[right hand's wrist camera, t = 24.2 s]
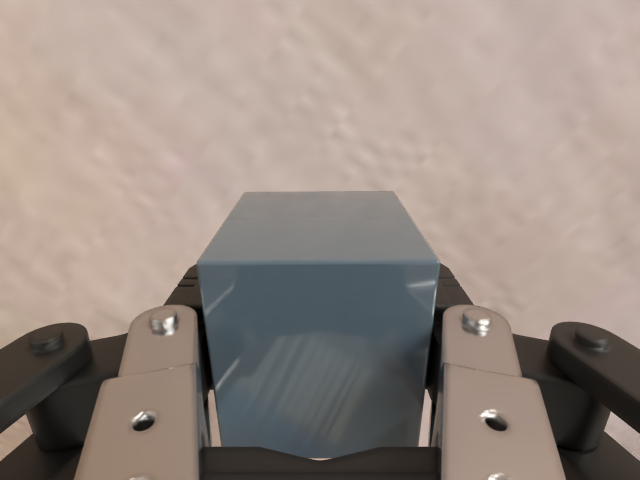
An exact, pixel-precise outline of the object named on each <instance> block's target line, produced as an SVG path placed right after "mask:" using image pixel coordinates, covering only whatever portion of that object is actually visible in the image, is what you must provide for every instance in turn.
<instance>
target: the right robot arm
mask: <svg viewBox="0 0 640 480" xmlns="http://www.w3.org/2000/svg"><path fill="white" fill-rule="evenodd" d="M425 389H427V390H428V392H429V395H430V398H431V400H432V401H431V408H430V420H429V436H428V447H378V448H373V449H369V450H365V451H361V452H357V453H353V454H348V455H344V456H340V457H336V458H332V459H328V460H312V459H308V458H304V457H300V456H296V455H292V454H287V453H283V452H279V451H275V450H271V449H267V448H262V447H212V436H211V420H210V408H209V401H208V393H209V390H214V389H213V382H212V374H211V367H210V360H209V352H208V345H207V338H206V330H205V323H204V316H203V309H202V301H201V294H200V287H199V279H198V272H197V265H194V266H192V267H191V268H189V269H188V271H187V272H186V274H185V275H184V277H183V279H181V281H180V282H179V284H178V287H176V288H175V289H174V291H173V292H172V294H171V295H170V297H169V298H168V299H167V301H166V302H165V304H164V305H163V306H160V307H156V308H153V309H150V310H148V311H146V312H144V313H142V314H140V315H139V316H137V317H136V318H135V319H134V320H133V321H132V323H131V325H130V328H129V332H128V333H126V334H123V335H118V336H113V337H108V338H103V339H97V340H92V341H90V340H89V336H88V332H87V329H86V328H85V327H84V326H82V325H80V324H77V323H59V324H53V325H49V326H45V327H42V328H39V329H36V330H34V331H32V332H29V333H27V334H25V335H24V336H22V337H20V338H19V339H17V340H15V341H14V342H12V343H10V344H9V345H7V346H5V347H4V348H2V349H0V433H2V432H3V431H4V430H6V429H7V428H8V427H9V426H11V425H12V424H13V423H14V422H16V421H17V420H18V419H19V418H21V417H22V416H23V415H25V414H26V415H27V418H28V421H29V424H30V426H31V429H32V432H33V434H32V435H31V436H30V437H28V438H27V439H26V440H25V441H24V442H23V443H21V444H20V445H19V446H18V447H17V448H16V449H14V450H13V451H12V452H11V453H10V454H8V455H7V456H6V457H5V458H4V459H3V460H1V461H0V480H640V461H639V460H637V459H636V458H635V457H634V456H633V455H632V454H630V453H629V452H628V451H627V450H626V449H624V448H623V447H622V446H621V445H620V444H619V443H617V442H616V441H615V440H614V439H613V438H612V437H610V436H609V435H608V434H607V433H606V432H605V431H604V429H605V426H606V423H607V421H608V418H609V415H610V412H611V411H612V412H613V413H614V414H615V415H617V416H618V417H619V418H621V419H622V420H623V421H624V422H626V423H627V424H628V425H629V426H631V427H632V428H633V429H634V430H636V431H637V432H638V433H640V349H638V348H636V347H635V346H633V345H631V344H630V343H628V342H626V341H625V340H623V339H621V338H620V337H618V336H616V335H615V334H613V333H611V332H609V331H607V330H605V329H602V328H599V327H596V326H593V325H590V324H585V323H579V322H562V323H558V324H556V325H554V326H553V327H552V330H551V333H550V337H549V341H548V340H542V339H537V338H531V337H526V336H521V335H516V334H512V332H511V328H510V325H509V323H508V321H507V320H506V319H505V318H504V317H503V316H501V315H500V314H498V313H496V312H494V311H492V310H490V309H487V308H484V307H480V306H475V305H473V303H472V302H471V300H470V299H469V297H468V296H467V294H466V293H465V291H464V290H463V289H462V287H460V284H459V283H458V281H457V280H456V279H455V277H454V275H453V274H452V272H451V271H450V270H449V268H447V267H446V266H444V265H443V264H441V263H440V269H439V277H438V286H437V294H436V303H435V311H434V319H433V328H432V336H431V345H430V353H429V361H428V370H427V378H426V387H425Z"/></svg>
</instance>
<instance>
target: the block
mask: <svg viewBox="0 0 640 480" xmlns="http://www.w3.org/2000/svg"><path fill="white" fill-rule="evenodd" d="M196 265H197V272H198V279H199V287H200V294H201V301H202V309H203V316H204V323H205V330H206V338H207V345H208V352H209V360H210V367H211V374H212V382H213V389H214V396H215V403H216V411H217V418H218V425H219V433H220V440H221V447H262V448H267V449H271V450H275V451H279V452H283V453H287V454H292V455H296V456H300V457H304V458H336V457H340V456H344V455H348V454H353V453H357V452H361V451H365V450H369V449H373V448H378V447H418V446H419V437H420V429H421V420H422V412H423V403H424V395H425V387H426V378H427V370H428V361H429V353H430V345H431V336H432V328H433V319H434V311H435V303H436V294H437V286H438V277H439V269H440V260H439V259H438V257H437V256H436V254H435V253H434V251H433V250H432V248H431V247H430V245H429V244H428V242H427V241H426V239H425V238H424V236H423V235H422V233H421V232H420V230H419V229H418V227H417V226H416V224H415V223H414V221H413V220H412V218H411V217H410V215H409V214H408V212H407V211H406V209H405V208H404V206H403V205H402V203H401V202H400V200H399V199H398V197H397V196H396V194H395V193H394V192H393V191H341V192H245V193H244V194H243V195H242V196H241V198H240V199H239V201H238V202H237V204H236V205H235V207H234V208H233V210H232V211H231V213H230V214H229V216H228V217H227V218H226V220H225V221H224V223H223V224H222V226H221V227H220V229H219V230H218V232H217V233H216V235H215V236H214V237H213V239H212V240H211V242H210V243H209V245H208V246H207V248H206V249H205V251H204V252H203V254H202V255H201V257H200V258H199V259H198V261H197V264H196Z"/></svg>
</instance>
